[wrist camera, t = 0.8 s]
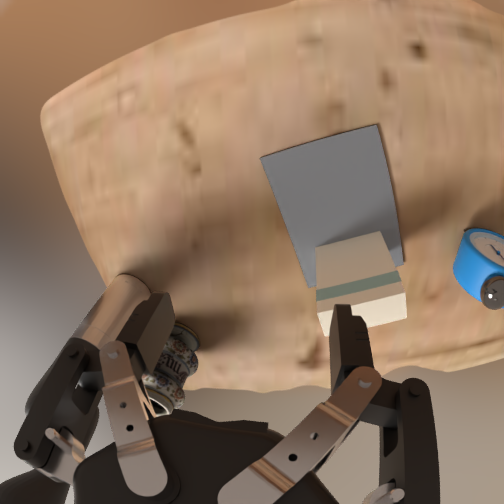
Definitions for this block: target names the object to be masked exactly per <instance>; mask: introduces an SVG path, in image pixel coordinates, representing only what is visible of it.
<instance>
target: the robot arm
mask: <svg viewBox="0 0 504 504" xmlns="http://www.w3.org/2000/svg"><path fill="white" fill-rule="evenodd" d="M174 324H175V314H174V310H173V306H172V302H171V299H170V295H169V293H167V292H157V291H154V292H152V294H151V292H150V291H149V289H148V288H147V286H146V285H145V284H144V283H143V282H142V281H140V280H139V279H137V278H135V277H133V276H131V275H126V274H122V275H118V276H117V277H116V278H115V279H114V280H113V281H112V283H111V284H110V285H109V286H108V288H107V289H106V290H105V291H104V293H103V294H102V295H101V296H100V298H99V299H98V300H97V302H96V303H95V304H94V305H93V307H92V308H91V309H90V311H89V312H88V314H87V315H86V316H85V318H84V319H83V320H82V322H81V323H80V324H79V326H78V327H77V328H76V330H75V331H74V333H73V334H72V335H71V337H70V338H69V340H68V341H67V343H66V344H65V346H64V347H63V349H62V350H61V352H60V353H59V355H58V356H57V358H56V359H55V361H54V362H53V364H52V365H51V366H50V368H49V369H48V370H47V372H46V373H45V375H44V376H43V377H42V378H41V380H40V381H39V383H38V384H37V385H36V387H35V388H34V390H33V391H32V393H31V394H30V396H29V398H28V400H27V403H26V406H25V413H26V416H27V417H26V419H25V421H24V422H23V425H22V427H21V429H20V431H19V433H18V435H17V437H16V439H15V442H14V451H15V453H16V455H17V457H19V458H20V459H21V460H23V461H24V462H26V463H27V464H29V465H30V466H32V467H33V468H35V469H33V470H31V471H29V472H26V473H24V474H21V475H18V476H16V477H13V478H11V479H9V480H7V481H5V482H3V483H1V484H0V504H64V503H65V500H66V497H67V494H68V491H69V487H70V485H72V486H73V489H74V504H339V503H338V502H337V500H336V499H335V498H334V497H333V496H332V495H331V493H330V492H329V491H328V489H327V488H326V487H325V486H324V484H323V483H322V482H321V481H320V479H319V478H318V477H317V475H316V473H317V472H318V471H319V470H320V469H321V468H322V467H323V466H324V464H326V463H327V461H328V460H329V459H330V458H331V457H332V456H333V454H334V453H335V452H336V451H337V449H338V448H339V447H340V446H341V445H342V443H343V442H344V441H345V440H346V438H347V437H348V436H349V435H350V434H351V433H352V431H353V430H354V429H355V427H356V426H357V425H358V423H359V422H360V421H363V422H367V423H371V424H374V425H378V426H379V428H380V468H379V487H378V488H377V489H375V490H374V491H372V492H371V493H369V494H368V495H367V496H366V497H365V498H364V500H363V503H362V504H440V477H439V462H438V450H437V439H436V431H435V423H434V416H433V409H432V403H431V397H430V391H429V388H428V386H427V384H426V383H425V382H424V381H422V380H420V379H417V378H409V379H406V380H405V381H403V383H402V384H401V383H397V382H392V381H389V380H386V379H384V378H382V377H381V375H380V374H379V372H378V371H377V370H375V369H374V365H373V359H372V353H371V347H370V341H369V335H368V330H367V325H366V322H365V321H364V320H363V318H362V317H361V316H357V315H352V309H351V305H350V304H335V305H334V309H333V314H332V319H331V325H330V331H329V346H330V370H331V396H330V397H329V398H328V400H327V401H326V402H324V403H320V404H319V405H317V406H316V407H315V408H314V409H313V410H312V411H311V412H310V413H309V415H308V416H306V418H304V420H302V421H301V423H299V425H297V426H296V427H295V429H293V430H292V431H291V432H290V433H289V434H288V435H287V436H286V437H284V436H283V435H281V434H280V433H278V432H276V431H274V430H271V429H268V423H266V422H256V421H247V420H240V421H228V422H216V421H213V420H211V419H209V418H206V417H204V416H202V415H199V414H197V413H194V412H189V411H184V410H179V409H175V408H173V411H172V414H167V415H161V416H158V417H157V416H156V414H155V412H154V410H153V407H152V404H151V402H150V399H149V396H148V393H147V390H146V388H145V385H144V382H143V379H142V376H143V374H145V375H150V376H151V375H152V373H153V371H154V368H155V366H156V364H157V362H158V360H159V357H160V355H161V353H162V351H163V349H164V347H165V344H166V342H167V340H168V338H169V336H170V334H171V331H172V329H173V327H174ZM77 383H78V386H77V388H76V389H75V387H76V385H77ZM102 395H103V396H104V400H105V405H106V409H107V413H108V417H109V421H110V425H111V429H112V432H113V436H114V439H115V442H113V443H111V444H110V445H108V446H106V447H105V448H103V449H101V450H100V451H98V452H96V453H94V454H93V455H91V456H89V457H87V458H86V459H85V455H84V454H85V451H86V449H87V447H88V445H89V442H90V440H91V438H92V436H93V434H94V431H95V429H96V426H97V423H98V419H99V409H98V404H99V402H100V400H101V397H102Z"/></svg>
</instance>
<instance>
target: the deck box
mask: <svg viewBox="0 0 504 504" xmlns="http://www.w3.org/2000/svg"><path fill="white" fill-rule="evenodd" d="M315 254H316V282H317V290H316V301H317V314H318V317H319V320H320V323H321V326H322V329H323V332H324V335H325V336H329V331H330V325H331V319H332V314H333V309H334V305H335V304H350V305H351V309H352V315H357V316H361V317H362V318H363V320H364V321H365V322H366V325H367V328H368V327H372V326H377V325H381V324H385V323H389V322H393V321H397V320H401V319H405V318H407V314H406V296H405V290H404V288H403V285H402V282H401V278H400V276H399V273H398V271H397V270H396V267H395V265H394V262H393V260H392V257H391V255H390V253H389V250H388V248H387V246H386V243H385V241H384V239H383V237H382V234H381V232H380V231H378V232H374V233H370V234H366V235H362V236H358V237H354V238H350V239H346V240H343V241H339V242H335V243H331V244H327V245H323V246H319V247H315Z"/></svg>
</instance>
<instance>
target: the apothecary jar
mask: <svg viewBox="0 0 504 504" xmlns="http://www.w3.org/2000/svg"><path fill="white" fill-rule="evenodd" d="M199 347H200V341H199V338H198V336H197V335H196V334H195V333H194V332H193V331H192V330H191V329H190V328H188V327H186V326H184V325H182V324H179V323H176V322H175V324H174V327H173V329H172V331H171V334H170V336H169V338H168V340H167V342H166V344H165V347H164V349H163V351H162V353H161V355H160V357H159V360H158V362H157V364H156V366H155V368H154V371H153V373H152V375H151V376H150V375H145V374H143V376H142V379H143V382H144V385H145V388H146V390H147V393H148V396H149V399H150V402H151V404H152V407H153V410H154V412H155V414H156V416H157V417H158V416H161V415H167V414H170V412H171V411H172V410H173V408H175V409H177V408H179V407H181V406H182V404H183V403H184V400H185V394H184V391H183V389H182V388H183V385H184V383H185V381H186V379H187V377H190V376H192V375H193V374H194V373H195V372H196V370H197V368H198V359H197V356H196V354H195V353H194V352H195V351H197V350H198V349H199Z"/></svg>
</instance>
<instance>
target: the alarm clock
mask: <svg viewBox="0 0 504 504" xmlns="http://www.w3.org/2000/svg"><path fill="white" fill-rule="evenodd" d="M464 232H465V233H464V235H463V238H462V241H461V244H460V247H459V250H458V253H457V256H456V258H455V261H454V264H453V272H454V275H455V277H456V279H457V281H458V282H459V284H460V285H461V286H462V287H463V288H464V289H465V290H466V291H467V292H468V293H469V294H470V295H472V296H473V297H474V298H476V299H477V300H479V301H481V302H482V303H483V304H484V306H486V307H487V308H489V309H492V310H497V309H500V308H504V236H502V235H500V234H498V233H495V232H493V231H489V230H486V229H480V228H474V229H469V230H464Z"/></svg>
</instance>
